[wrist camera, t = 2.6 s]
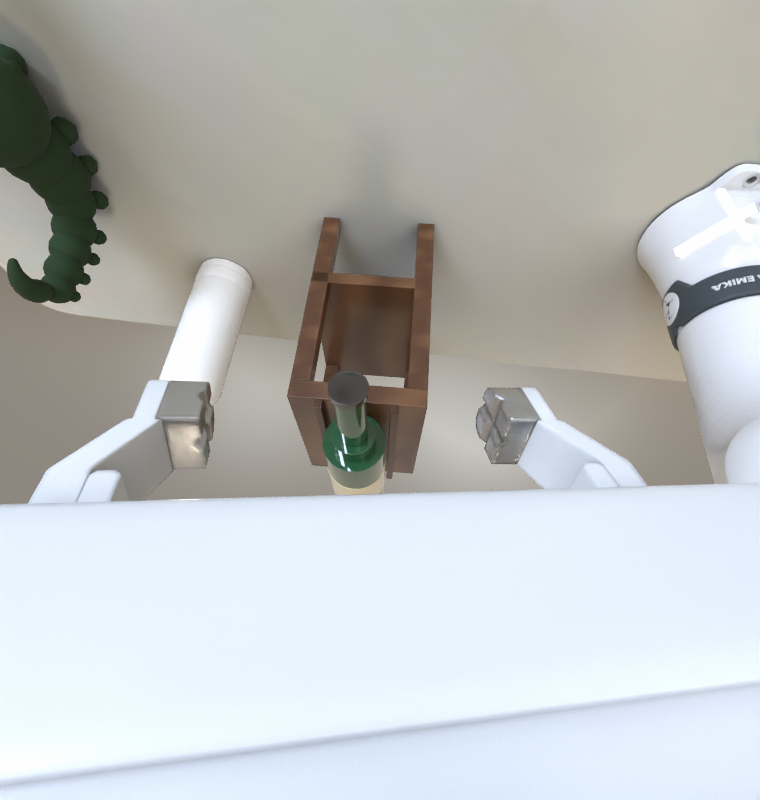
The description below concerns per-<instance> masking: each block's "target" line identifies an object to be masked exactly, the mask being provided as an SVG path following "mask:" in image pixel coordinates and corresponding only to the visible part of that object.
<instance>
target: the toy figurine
mask: <svg viewBox="0 0 760 800" xmlns="http://www.w3.org/2000/svg"><path fill="white" fill-rule="evenodd" d="M26 76H27V66H26V63H25V61H24V59H23V58H22V56H21V55H20V54H19V53H18V52H17V51H16V50H14V49H12V48H9V47H7V46H5V45H2V44H0V167H3V168H5V169H6V170H7V171H8V172H10V173H11V174H12V175H13V176H15V177H17V178H19V179H21V180H23V181H25V182H27V183H29V184H30V186H31V187H32V189H33V190H34V191H35V192H36V193H37V194H38V195H39V196H41V197H42V198H43V199H45V203H46V205H47V207H48V209H49V211H50V212H51V213H52V214H53V217H52V220H51V229H52V232H53V234H54V235H53V236H52V237H51V239H50V241H49V252H50V256H49V257H48V258H47V259H46V261H45V262H44V266H43V270H44V273H45V276H44V277H43V278H42V279H41V280H37V279H31V278H30V277H29V276H27V275H26V274H25V273H24V272H23V270H22V269H21V267H20V265H19V263H18V261H17V260H16V259H14V258H11V259H9V260H8V264H7V274H8V279H9V281H10V284H11V286H12V287H13V289H14V290H15V291H16V292H17V293H18V294H19V295H20V296H22V297H23V298H25V299H27V300H29V301H32V302H38V303H42V302H46V301H48V300H49V301H51V302H54V303H66V302H69V301H73V302H77V301H79V300H80V298H81V296H80V293H79V292H77V291H76V285H78V284H79V283H80V284H83V285H87V284H89V283H90V281H91V279H90V276H89V275H88V274H86V273H84V268H83V266H85V265H86V264H87V263H89V264H90V265H98V264H99V263H100V258H99V257H98V255H97V254H95V253H91V247H90V246H91V245H92V244H93V243H95V244H98V245H100V244H104V243H105V242H106V240H107V238H106V235H105V234H104V232H103V231H101V230H97V227H96V224H95V222H94V220H93V219H92V218H93V217H94V215H95V213H96V208H97V209H102V210H103V209H105V208H106V207H107V206H108V198H107V197H106V196H105V194H103V193H102V192H99V191H93V192H91V191H90V189H91V176H90V175H92V174H95V173H96V172H97V171H98V167H97V162H96V161H95V159H94V158H93V157H91V156H89V155H85V156H79V157H77V156H76V155H75V154H74V153H73V152H72V151H71V148H70V145H73V144H74V143H75V142H76V141H77V139H78V133H77V129H76V126H75V125H74V124H73V123H71V122H70V121H69V120H67V119H66V118H64V117H57V116H56V117H54V118H53V119H52V120H51V121H50V116H49V112H48V109H47V107H46V105H45V103H44V101H43V99H42V97H41V95H40V93H39V92H38V90H37V89H36V87H35V86H34V85H33V83H32V82H31V81H30V80H29V79H28V78H27V77H26Z"/></svg>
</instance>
